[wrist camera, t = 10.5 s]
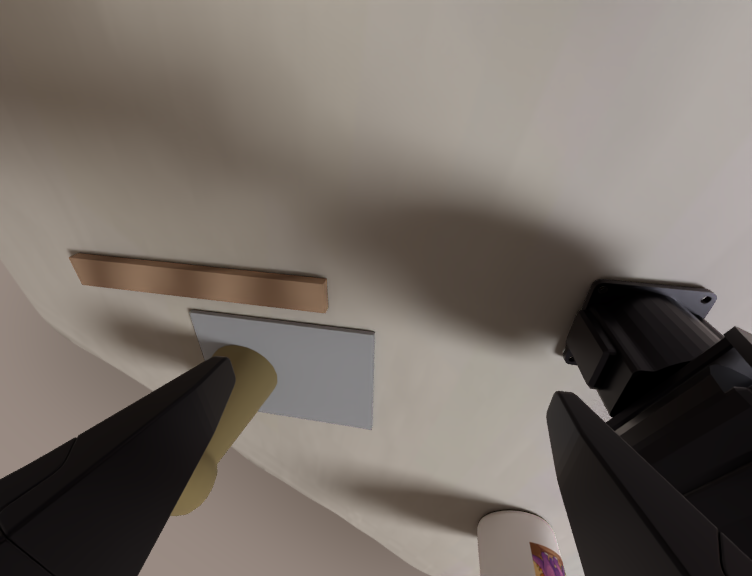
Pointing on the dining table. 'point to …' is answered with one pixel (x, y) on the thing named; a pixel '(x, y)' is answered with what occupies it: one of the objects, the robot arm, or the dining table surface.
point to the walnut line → (203, 282)
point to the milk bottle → (517, 546)
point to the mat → (302, 364)
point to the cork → (230, 420)
